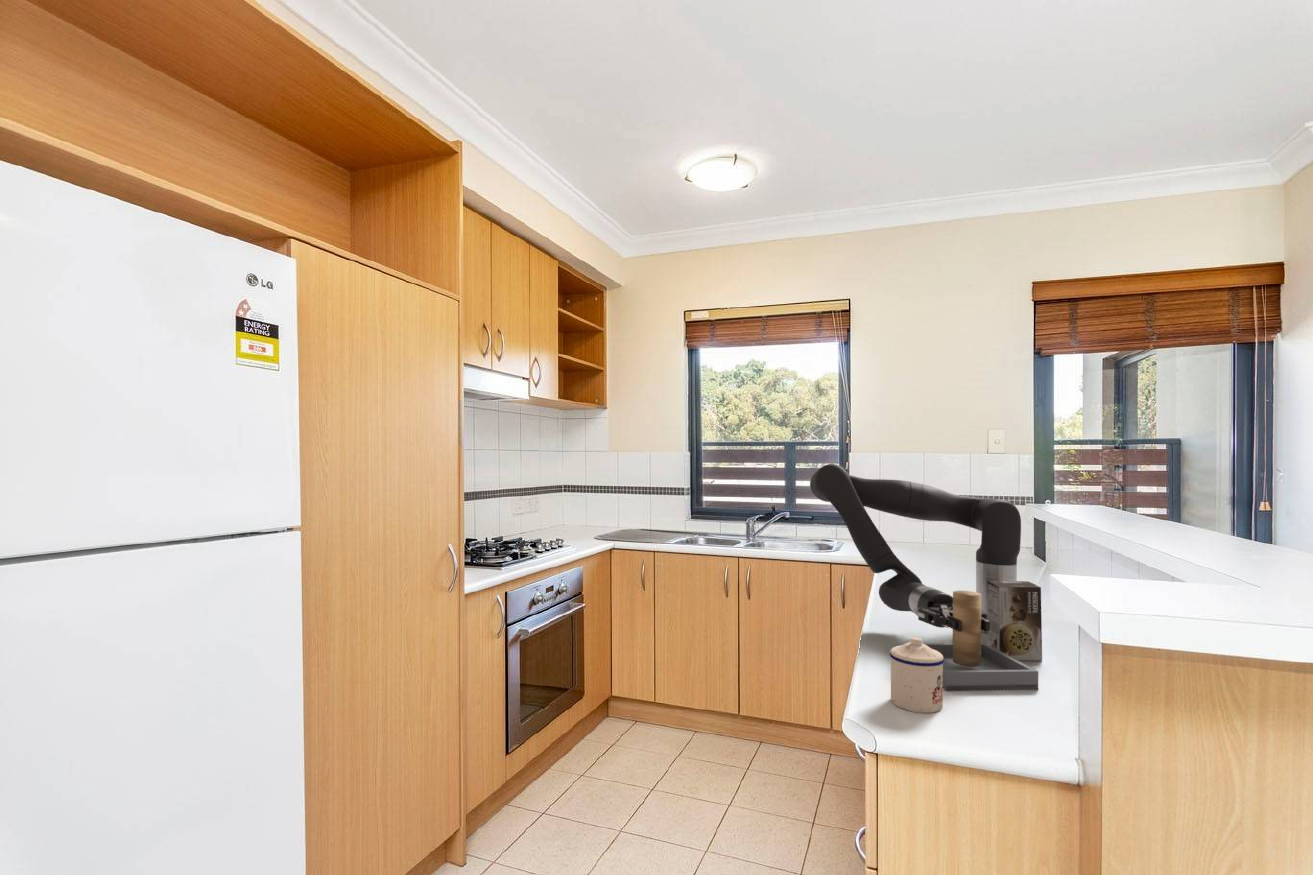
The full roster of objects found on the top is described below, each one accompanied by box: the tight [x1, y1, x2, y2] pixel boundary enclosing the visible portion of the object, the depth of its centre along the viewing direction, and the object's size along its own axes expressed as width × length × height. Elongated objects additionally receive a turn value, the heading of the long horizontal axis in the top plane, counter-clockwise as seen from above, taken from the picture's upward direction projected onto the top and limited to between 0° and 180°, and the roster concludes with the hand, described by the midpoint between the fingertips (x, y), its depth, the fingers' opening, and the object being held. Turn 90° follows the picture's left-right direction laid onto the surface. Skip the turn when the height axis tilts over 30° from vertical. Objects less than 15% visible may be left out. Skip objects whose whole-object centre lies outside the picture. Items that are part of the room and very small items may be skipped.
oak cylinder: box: [952, 590, 982, 667], centre depth 132 cm, size 5×5×14 cm
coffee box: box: [987, 580, 1043, 662], centre depth 144 cm, size 9×6×16 cm
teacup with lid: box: [889, 636, 944, 714], centre depth 117 cm, size 12×9×12 cm
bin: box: [924, 642, 1039, 692], centre depth 132 cm, size 18×18×4 cm
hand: (973, 626), depth 129 cm, fingers closed on oak cylinder, 5 cm apart
